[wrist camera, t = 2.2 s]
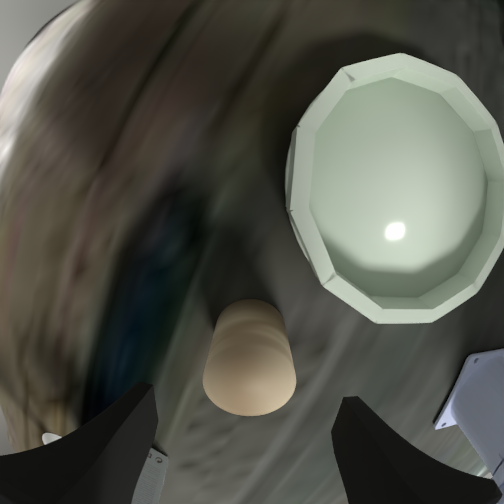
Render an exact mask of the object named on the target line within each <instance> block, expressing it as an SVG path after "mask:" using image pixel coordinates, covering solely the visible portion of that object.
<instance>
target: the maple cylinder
mask: <svg viewBox="0 0 504 504" xmlns="http://www.w3.org/2000/svg"><path fill="white" fill-rule="evenodd" d="M203 386H204V390H205V392H206V394H207V395H208V397H209V398H210V399H211V401H212V402H213V403H214V404H216V405H217V406H218V407H220V408H221V409H223V410H225V411H228V412H230V413H233V414H237V415H243V416H257V415H263V414H267V413H270V412H272V411H275V410H277V409H278V408H280V407H281V406H283V405H284V404H285V403H286V402H287V401H288V400H289V399H290V398H291V396H292V394H293V392H294V390H295V387H296V375H295V370H294V366H293V361H292V356H291V351H290V346H289V341H288V337H287V332H286V327H285V323H284V320H283V317H282V316H281V314H280V313H279V311H278V310H277V309H276V308H275V307H273V306H272V305H271V304H269V303H267V302H264V301H261V300H257V299H244V300H239V301H236V302H234V303H232V304H230V305H229V306H227V307H226V308H225V309H224V310H223V311H222V312H221V314H220V315H219V317H218V319H217V323H216V327H215V331H214V334H213V338H212V342H211V346H210V350H209V354H208V358H207V362H206V366H205V370H204V374H203Z"/></svg>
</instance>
